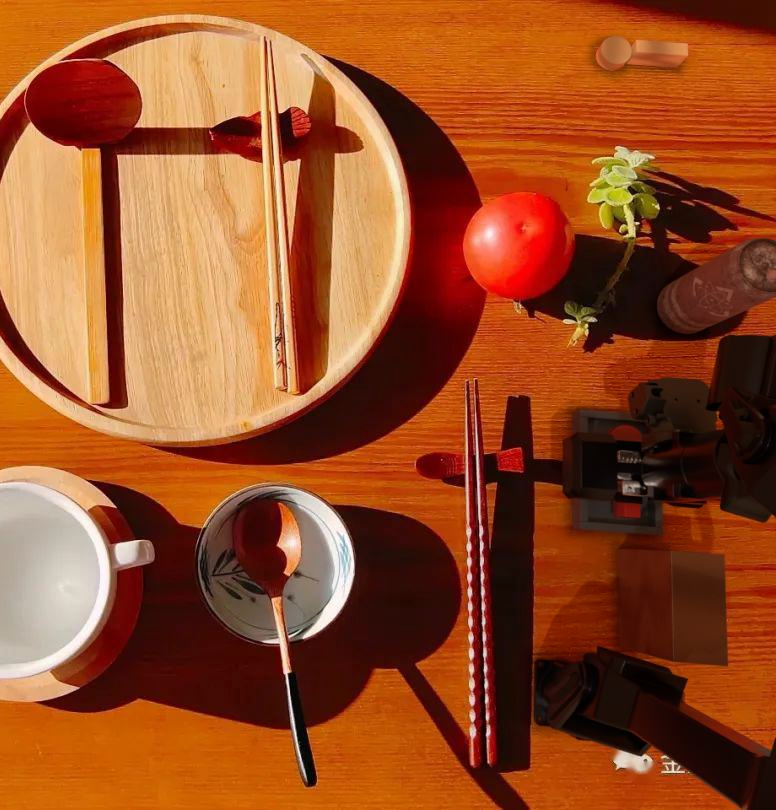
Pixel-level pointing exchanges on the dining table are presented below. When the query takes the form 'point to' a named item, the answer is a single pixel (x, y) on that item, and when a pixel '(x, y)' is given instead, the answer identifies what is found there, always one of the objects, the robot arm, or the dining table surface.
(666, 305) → the can
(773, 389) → the robot arm
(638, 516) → the red spoon
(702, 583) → the stand
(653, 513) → the tray
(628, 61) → the birch spoon
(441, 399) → the dining table surface
